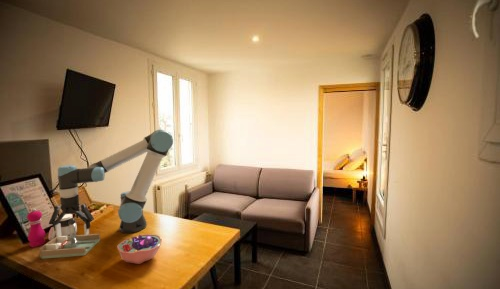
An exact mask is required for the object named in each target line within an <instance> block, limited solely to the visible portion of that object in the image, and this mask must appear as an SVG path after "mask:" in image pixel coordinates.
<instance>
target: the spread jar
mask: <svg viewBox="0 0 500 289" xmlns="http://www.w3.org/2000/svg"><path fill="white" fill-rule="evenodd" d="M70 219H75V218H74V217H73V214H65V215H64V217H63V218H62V219H61V220H60V222H59V223H60V224H61V234H62V236H70V229H69V224H68V221H69V220H70ZM59 223H58V224H59ZM75 230H76V232H78V228H77V221H76V220H75ZM47 237H48V240H49V241H51V240H52V239H54V238H55V237H56V231H54V226H52V227H50V229H49V232H48V236H47Z"/></svg>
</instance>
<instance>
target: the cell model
mask: <svg viewBox="0 0 500 289" xmlns="http://www.w3.org/2000/svg"><path fill="white" fill-rule="evenodd" d="M162 241H163V240H162V238H161V236H160V235H157V234H148V233H147V234H146V233H145V234H138V235H137V236H136V235H135V236H132V237H129V238H126V239H124V240H122V241H121V242H120V243H118V244H117V246H116V248H117V250H118V252H119V255H120V258H121V259H122V260H123V261H124V262H126V263H129V264H130V263H131V264H135V265H140V264H142V263H144V262H147V261H150V260H151V259H153V258H154V257H155V256H156V255H157V254H158V251H159V249H160V248H161V246H162Z"/></svg>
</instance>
